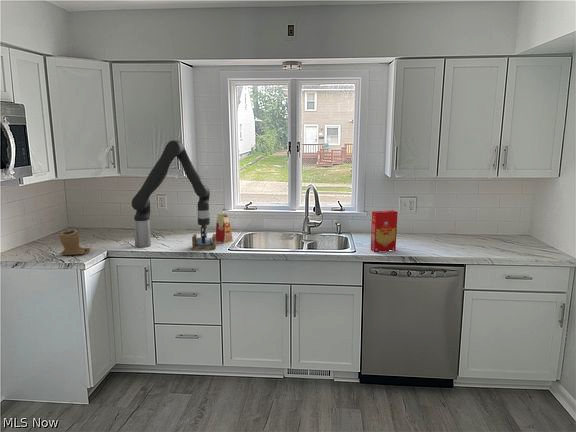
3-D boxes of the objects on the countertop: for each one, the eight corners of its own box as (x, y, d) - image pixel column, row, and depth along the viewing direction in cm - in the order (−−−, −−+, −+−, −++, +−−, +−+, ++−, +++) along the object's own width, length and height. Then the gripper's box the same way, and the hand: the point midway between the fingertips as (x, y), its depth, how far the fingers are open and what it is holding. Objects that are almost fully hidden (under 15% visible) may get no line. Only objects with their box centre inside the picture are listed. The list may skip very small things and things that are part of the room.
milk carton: (233, 241, 300) (232, 212, 297) (224, 243, 292) (223, 214, 289) (222, 239, 305) (221, 211, 301) (213, 242, 297) (213, 213, 293)
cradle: (192, 249, 277) (192, 237, 276) (194, 246, 286) (193, 234, 284) (214, 249, 278) (214, 237, 277) (216, 245, 287) (215, 233, 286)
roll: (196, 248, 280) (195, 240, 277) (197, 243, 285) (196, 236, 282) (211, 247, 281) (211, 240, 278) (212, 243, 285) (211, 236, 283)
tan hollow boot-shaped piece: (57, 257, 258) (54, 232, 256) (66, 252, 270) (64, 228, 267) (83, 257, 259) (81, 232, 256) (91, 252, 271) (89, 228, 268)
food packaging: (374, 252, 273) (376, 212, 269) (370, 250, 278) (372, 211, 274) (395, 250, 277) (397, 211, 273) (391, 248, 282) (393, 210, 278)
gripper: (198, 215, 285) (199, 239, 288) (196, 219, 271) (196, 244, 274) (210, 214, 286) (211, 239, 289) (208, 219, 272) (209, 244, 275)
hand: (204, 241), depth 281 cm, fingers open, 8 cm apart
